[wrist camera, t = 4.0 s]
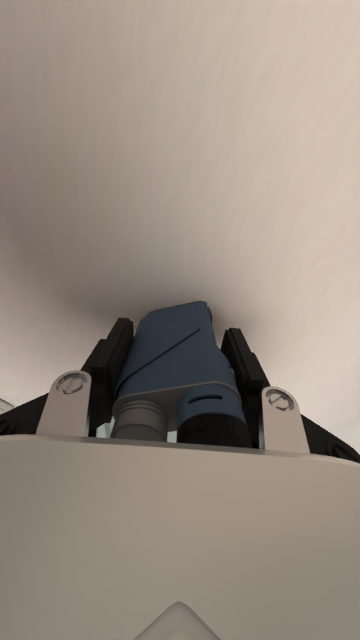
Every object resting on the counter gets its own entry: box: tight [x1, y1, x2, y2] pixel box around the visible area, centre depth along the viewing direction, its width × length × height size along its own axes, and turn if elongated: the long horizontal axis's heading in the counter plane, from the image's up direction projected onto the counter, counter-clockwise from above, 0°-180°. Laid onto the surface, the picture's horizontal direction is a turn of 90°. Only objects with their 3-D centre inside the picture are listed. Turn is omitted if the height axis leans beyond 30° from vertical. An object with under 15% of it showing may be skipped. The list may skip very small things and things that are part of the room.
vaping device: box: [110, 301, 253, 448], centre depth 9 cm, size 3×5×12 cm, turn 103°
